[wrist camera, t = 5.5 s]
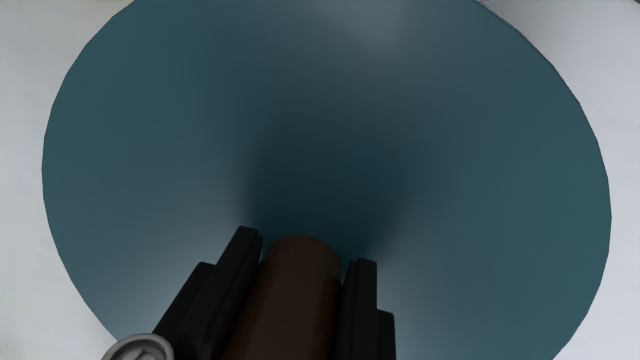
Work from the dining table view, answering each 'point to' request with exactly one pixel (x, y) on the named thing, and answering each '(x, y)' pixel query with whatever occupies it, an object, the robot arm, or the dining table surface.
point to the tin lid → (330, 173)
